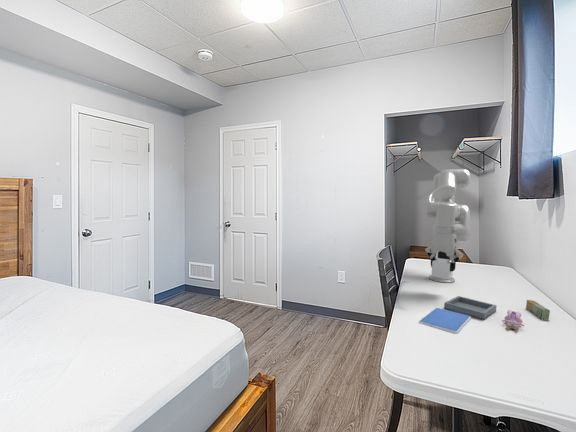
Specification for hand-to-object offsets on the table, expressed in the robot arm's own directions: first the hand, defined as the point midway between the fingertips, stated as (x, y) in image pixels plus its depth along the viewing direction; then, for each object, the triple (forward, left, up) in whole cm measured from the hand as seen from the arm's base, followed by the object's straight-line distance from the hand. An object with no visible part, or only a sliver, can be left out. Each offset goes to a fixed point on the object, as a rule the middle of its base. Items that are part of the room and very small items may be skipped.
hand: (442, 268), depth 137 cm
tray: (+10, +15, -12) cm, 22 cm away
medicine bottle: (0, 0, -4) cm, 4 cm away
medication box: (-8, +33, -13) cm, 36 cm away
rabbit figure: (+13, +30, -13) cm, 35 cm away
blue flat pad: (+28, +14, -13) cm, 34 cm away
